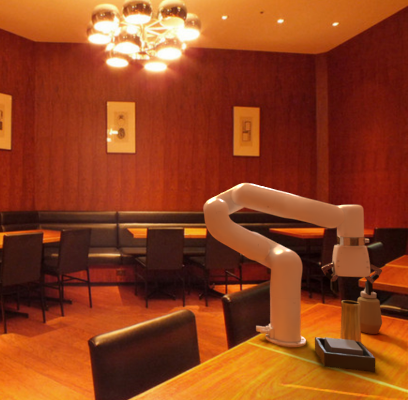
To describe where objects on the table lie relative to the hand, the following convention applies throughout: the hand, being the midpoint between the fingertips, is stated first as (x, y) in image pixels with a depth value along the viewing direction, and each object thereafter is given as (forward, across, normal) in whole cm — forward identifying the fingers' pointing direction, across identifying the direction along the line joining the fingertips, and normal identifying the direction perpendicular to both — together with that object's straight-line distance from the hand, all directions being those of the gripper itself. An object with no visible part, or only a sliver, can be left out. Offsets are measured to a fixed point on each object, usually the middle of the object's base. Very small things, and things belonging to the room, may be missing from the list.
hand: (351, 293), depth 125 cm
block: (+17, +6, +15) cm, 23 cm away
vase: (+17, 0, 0) cm, 17 cm away
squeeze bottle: (+18, -10, -16) cm, 26 cm away
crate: (+17, +6, +15) cm, 24 cm away
